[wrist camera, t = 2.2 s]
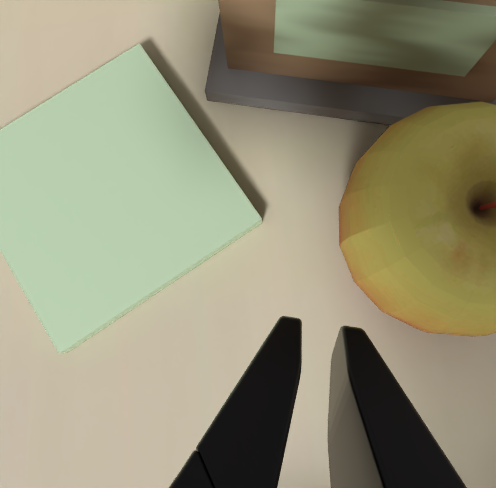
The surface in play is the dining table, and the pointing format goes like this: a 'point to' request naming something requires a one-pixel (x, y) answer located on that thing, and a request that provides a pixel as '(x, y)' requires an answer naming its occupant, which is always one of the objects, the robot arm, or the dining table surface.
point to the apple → (427, 220)
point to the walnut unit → (354, 56)
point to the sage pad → (111, 198)
